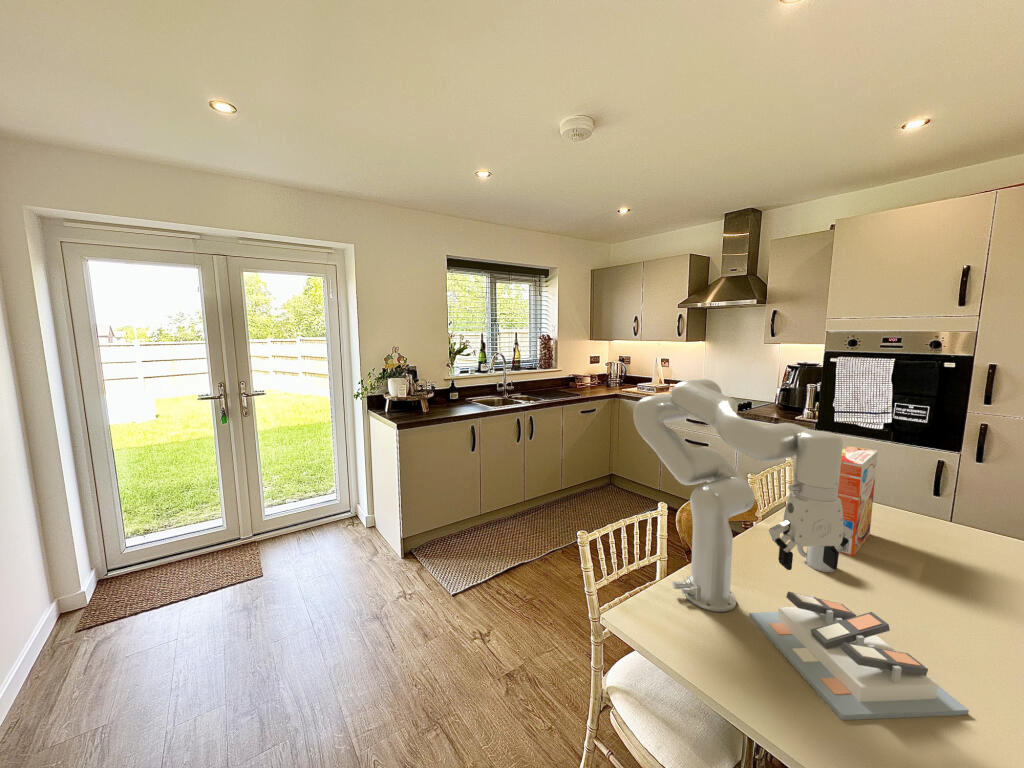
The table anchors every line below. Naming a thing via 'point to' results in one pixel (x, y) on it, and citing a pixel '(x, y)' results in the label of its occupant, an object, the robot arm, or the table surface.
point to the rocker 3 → (883, 658)
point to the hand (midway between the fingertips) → (807, 566)
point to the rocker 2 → (849, 630)
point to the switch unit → (852, 671)
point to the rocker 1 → (819, 605)
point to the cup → (815, 558)
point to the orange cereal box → (857, 493)
